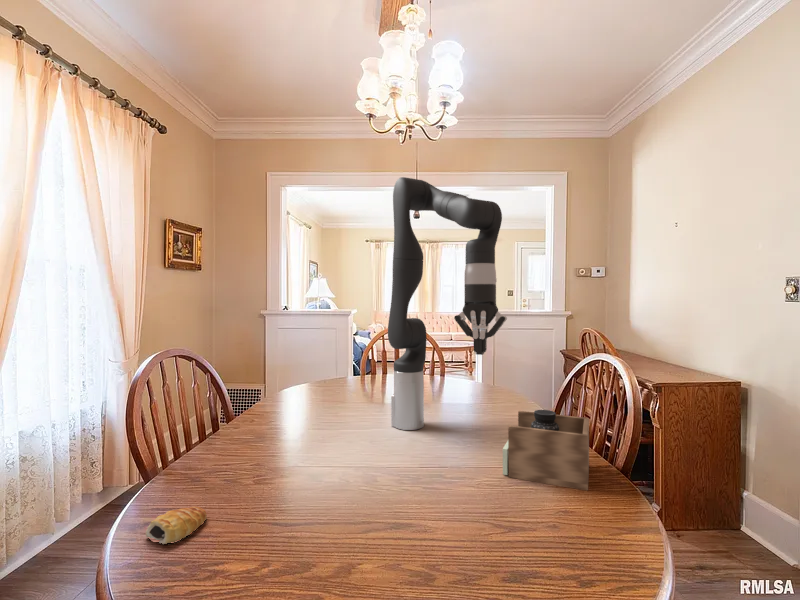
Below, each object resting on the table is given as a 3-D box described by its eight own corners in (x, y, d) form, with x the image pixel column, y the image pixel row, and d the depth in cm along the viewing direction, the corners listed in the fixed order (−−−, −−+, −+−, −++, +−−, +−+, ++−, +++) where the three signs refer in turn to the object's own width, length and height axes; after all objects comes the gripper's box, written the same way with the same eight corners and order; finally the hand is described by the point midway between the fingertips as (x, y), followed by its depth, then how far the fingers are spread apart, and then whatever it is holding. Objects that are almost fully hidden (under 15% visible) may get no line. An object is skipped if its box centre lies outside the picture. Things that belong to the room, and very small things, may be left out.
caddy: (508, 477, 93) (508, 426, 93) (519, 455, 106) (518, 410, 106) (587, 490, 87) (587, 436, 86) (589, 465, 99) (588, 418, 99)
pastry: (190, 514, 79) (189, 493, 79) (216, 522, 76) (216, 501, 76) (141, 541, 70) (141, 518, 70) (170, 551, 67) (169, 527, 67)
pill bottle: (561, 466, 93) (561, 416, 93) (532, 464, 94) (532, 415, 94) (557, 456, 99) (556, 409, 99) (529, 454, 100) (529, 408, 100)
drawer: (502, 474, 94) (502, 448, 94) (513, 453, 106) (513, 431, 106) (580, 487, 87) (580, 460, 87) (582, 463, 100) (582, 439, 100)
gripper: (449, 282, 102) (449, 354, 102) (504, 282, 96) (504, 358, 97) (458, 283, 109) (458, 350, 109) (510, 282, 103) (510, 353, 103)
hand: (480, 354), depth 103 cm, fingers closed
